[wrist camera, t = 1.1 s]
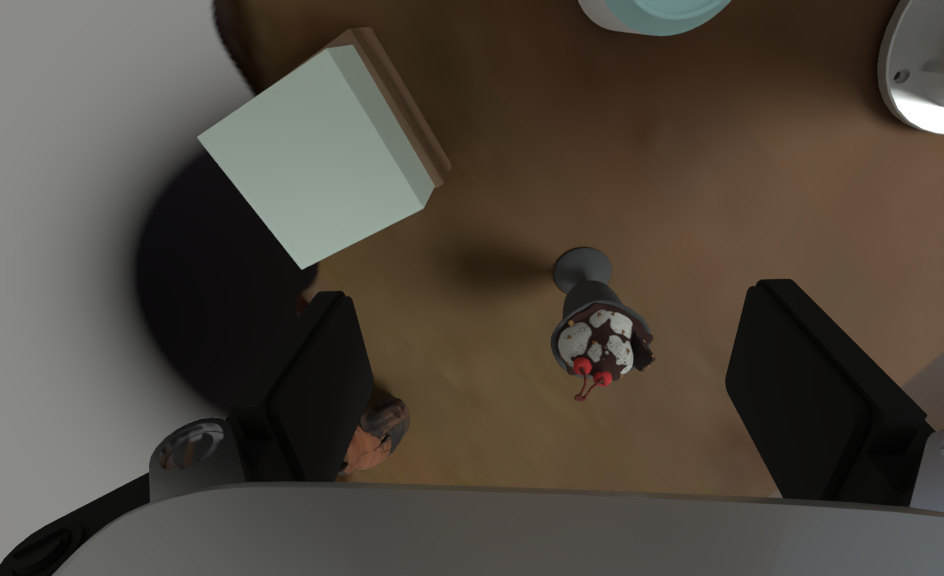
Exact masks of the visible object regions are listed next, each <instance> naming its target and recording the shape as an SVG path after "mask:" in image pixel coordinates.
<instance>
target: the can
mask: <svg viewBox="0 0 944 576" xmlns="http://www.w3.org/2000/svg"><path fill="white" fill-rule="evenodd" d="M730 1H731V0H578V2H579V4H580V6H581V8H582V10H583V11H584V12H585V14H586V15H587V16H588V17H589V18H590V19H591V20H592V21H593V22H594V23H596V24H597V25H599V26H601V27H603V28H605V29H608V30H612V31H619V32H627V33H636V34H644V35H653V36H670V35H675V34H680V33H683V32H686V31H689V30H692V29H694V28H696V27H698V26H700V25H702V24H703V23H705V22H707V21H708V20H710V19H711V18H713V17H714V16H715V15H716V14H718V13H719V12H720V11H721V10H722V9H723V8H724V7H725V6H726V5H727V4H728V3H729V2H730Z"/></svg>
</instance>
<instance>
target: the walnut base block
mask: <svg viewBox="0 0 944 576" xmlns="http://www.w3.org/2000/svg"><path fill="white" fill-rule="evenodd" d="M346 45H353V46H354V47H355V49H356V51H357V53H358V54H359V56H360V58H361V59H362V61H363V63H364V65H365V66H366V68H367V70H368V71H369V73H370V75H371V77H372V78H373V80H374V82H375V84H376V85H377V87H378V89H379V90H380V92H381V94H382V96H383V97H384V99H385V101H386V102H387V104H388V106H389V108H390V109H391V111H392V113H393V115H394V116H395V118H396V120H397V121H398V123H399V125H400V127H401V128H402V130H403V132H404V133H405V135H406V137H407V139H408V140H409V142H410V144H411V146H412V147H413V149H414V151H415V152H416V154H417V156H418V158H419V159H420V161H421V163H422V164H423V166H424V168H425V170H426V171H427V173H428V175H429V177H430V178H431V180H432V182H433V183H434V185H435V187H434V189H436V188H438V187H439V186H441V185H443V184H444V183H445V181H446V179H447V176H448V174H449V172H450V170H451V167H452V165H451V163H450V161H449V159H448V158H447V156H446V154H445V153H444V151H443V149H442V148H441V146H440V144H439V142H438V141H437V139H436V137H435V136H434V134H433V132H432V130H431V129H430V127H429V125H428V124H427V122H426V120H425V118H424V117H423V115H422V113H421V112H420V110H419V108H418V107H417V105H416V103H415V101H414V100H413V98H412V96H411V95H410V93H409V91H408V89H407V88H406V86H405V84H404V83H403V81H402V79H401V77H400V76H399V74H398V72H397V71H396V69H395V67H394V66H393V64H392V62H391V60H390V59H389V57H388V55H387V54H386V52H385V50H384V48H383V47H382V45H381V43H380V42H379V40H378V38H377V36H376V35H375V33H374V31H373V30H372V28H371V27H358V28H349V29H348V30H346V31H345V32H344V33H342V34H341V35H339V36H338V37H337V38H335V39H334V40H333V41H331V42H330V43H329V44H327V45H326V46H325V47H323V48H322V49H320V50H319V51H318V52H316V53H315V54H314V55H312V56H311V57H310V58H308V59H307V60H306V61H304V62H303V63H301V64H300V65H299V66H297V67H296V68H295V69H293V70H292V71H291V72H293V71H294V70H296V69H297V68H299V67H300V66H302V65H303V64H304V63H306V62H307V61H309V60H310V59H312V58H313V57H315V56H316V55H318V54H319V53H321V52H322V51H323V50H325V49H326V48H333V47H339V46H346ZM291 72H289V73H288V74H290V73H291ZM288 74H287V75H288ZM287 75H285V76H287ZM285 76H284V77H285ZM284 77H283V78H284ZM281 79H282V78H281ZM281 79H280V80H281ZM280 80H278V81H280ZM278 81H277V82H278ZM277 82H276V83H277ZM274 84H275V83H274ZM274 84H273V85H274ZM270 87H271V86H270ZM434 189H433V190H434Z"/></svg>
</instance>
